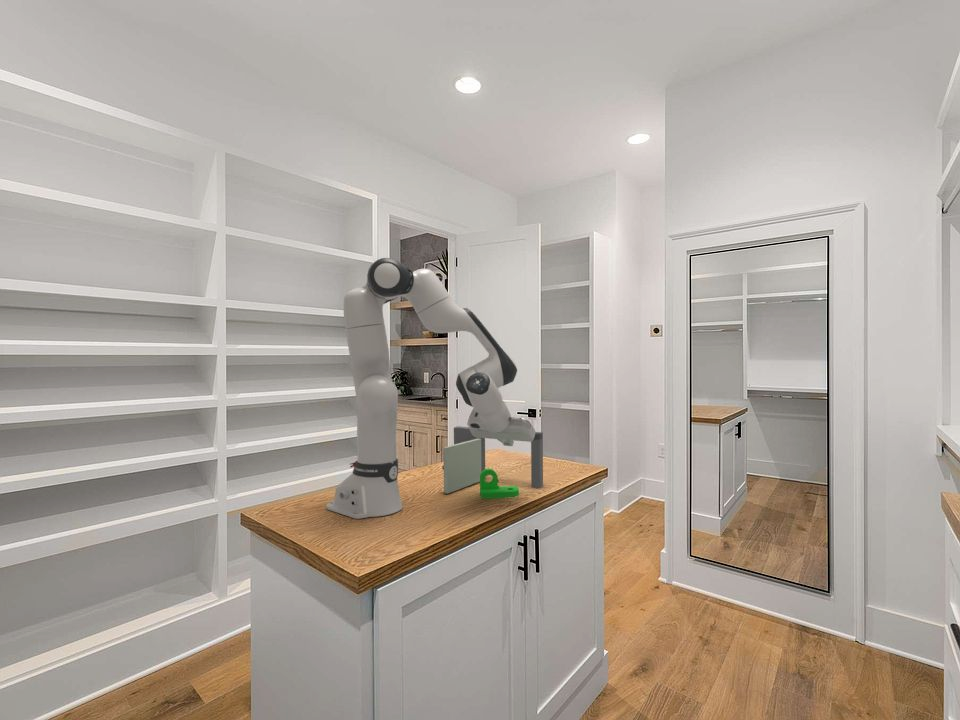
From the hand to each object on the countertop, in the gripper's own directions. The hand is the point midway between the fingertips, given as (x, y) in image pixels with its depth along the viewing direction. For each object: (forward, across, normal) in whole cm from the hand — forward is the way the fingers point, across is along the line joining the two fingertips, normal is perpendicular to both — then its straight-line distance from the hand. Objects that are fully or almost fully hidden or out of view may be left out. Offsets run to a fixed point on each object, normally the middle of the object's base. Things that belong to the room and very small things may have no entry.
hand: (509, 444), depth 151 cm
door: (+11, +17, +11) cm, 23 cm away
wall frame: (+20, +10, +3) cm, 22 cm away
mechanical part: (+10, +3, +13) cm, 17 cm away
